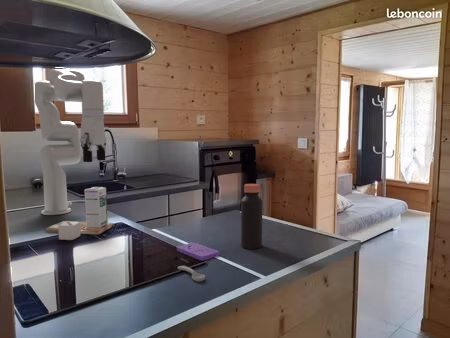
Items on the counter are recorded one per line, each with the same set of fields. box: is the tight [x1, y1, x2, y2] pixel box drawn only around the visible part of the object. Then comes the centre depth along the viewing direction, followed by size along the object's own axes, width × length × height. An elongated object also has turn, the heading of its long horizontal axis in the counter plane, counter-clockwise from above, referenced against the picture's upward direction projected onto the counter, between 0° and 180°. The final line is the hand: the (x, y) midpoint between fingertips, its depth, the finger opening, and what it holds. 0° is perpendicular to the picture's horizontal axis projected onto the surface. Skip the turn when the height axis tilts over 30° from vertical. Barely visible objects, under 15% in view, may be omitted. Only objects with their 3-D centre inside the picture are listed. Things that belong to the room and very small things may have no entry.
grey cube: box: [58, 221, 81, 241], centre depth 124 cm, size 5×5×5 cm
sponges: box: [176, 241, 220, 262], centre depth 108 cm, size 7×13×2 cm, turn 43°
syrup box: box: [84, 186, 109, 228], centre depth 134 cm, size 6×6×14 cm
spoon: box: [177, 265, 206, 283], centre depth 91 cm, size 3×12×2 cm, turn 34°
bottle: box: [240, 183, 263, 250], centre depth 113 cm, size 7×7×20 cm
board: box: [44, 220, 114, 235], centre depth 136 cm, size 12×21×2 cm, turn 82°
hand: (94, 160), depth 132 cm, fingers open, 9 cm apart
